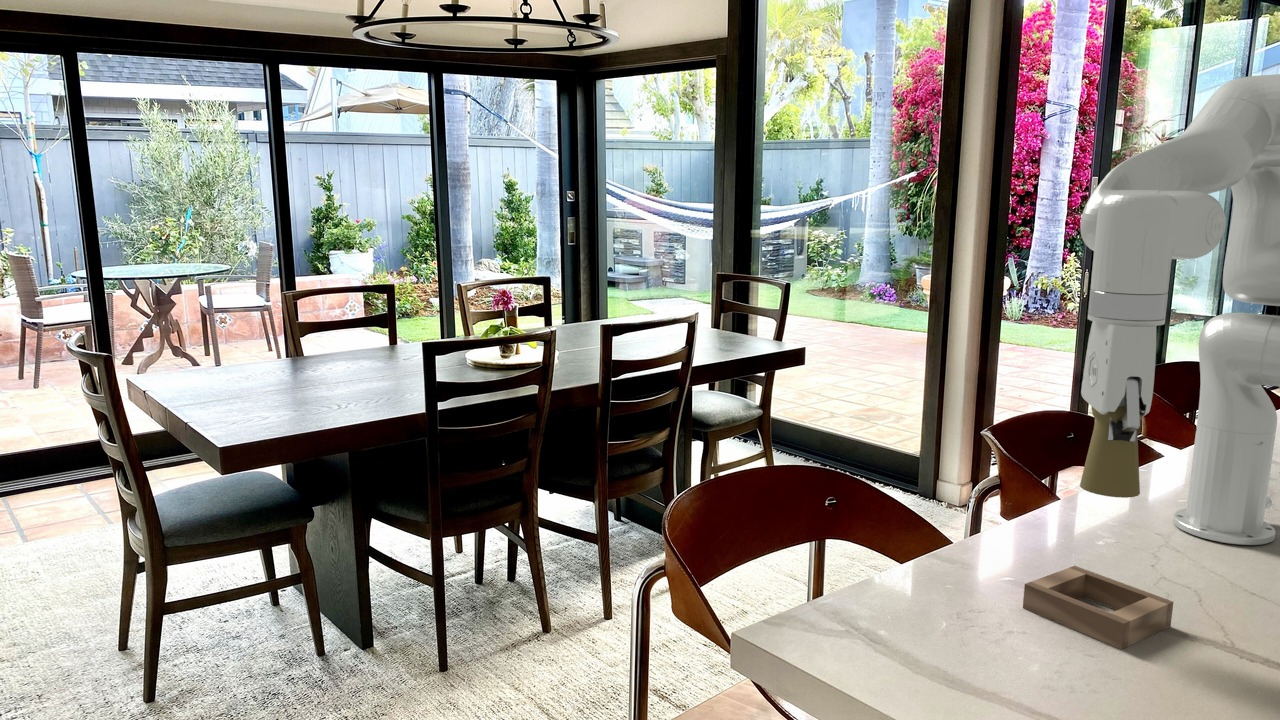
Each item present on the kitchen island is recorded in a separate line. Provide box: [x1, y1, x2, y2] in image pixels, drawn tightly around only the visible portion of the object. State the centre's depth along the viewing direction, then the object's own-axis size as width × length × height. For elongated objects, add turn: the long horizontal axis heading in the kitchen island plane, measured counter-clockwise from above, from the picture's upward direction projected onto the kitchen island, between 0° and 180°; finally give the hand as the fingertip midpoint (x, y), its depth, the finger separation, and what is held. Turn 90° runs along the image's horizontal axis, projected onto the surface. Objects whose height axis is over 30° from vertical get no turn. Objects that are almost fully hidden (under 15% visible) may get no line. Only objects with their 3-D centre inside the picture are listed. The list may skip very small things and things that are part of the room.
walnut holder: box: [1022, 565, 1174, 650], centre depth 108 cm, size 10×12×3 cm
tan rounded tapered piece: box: [1079, 398, 1144, 499], centre depth 104 cm, size 6×6×11 cm
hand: (1110, 469), depth 105 cm, fingers closed on tan rounded tapered piece, 2 cm apart
